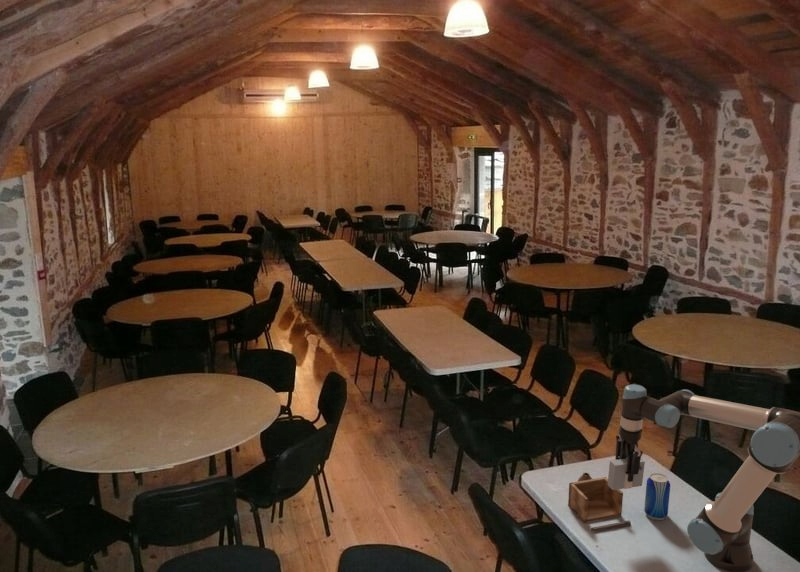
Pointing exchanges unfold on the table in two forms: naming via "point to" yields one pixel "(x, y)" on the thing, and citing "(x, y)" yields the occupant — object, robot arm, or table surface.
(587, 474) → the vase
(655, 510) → the beer can
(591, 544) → the table surface
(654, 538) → the table surface
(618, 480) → the grey flat-topped box
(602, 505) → the box
